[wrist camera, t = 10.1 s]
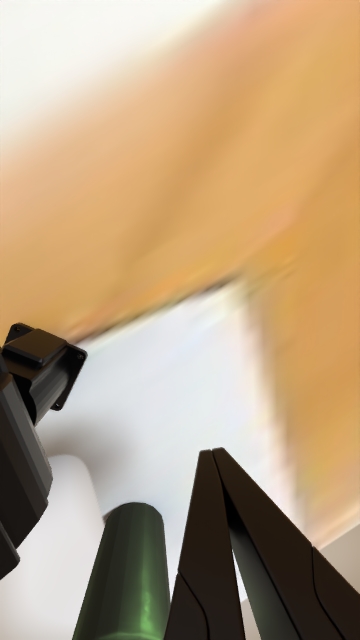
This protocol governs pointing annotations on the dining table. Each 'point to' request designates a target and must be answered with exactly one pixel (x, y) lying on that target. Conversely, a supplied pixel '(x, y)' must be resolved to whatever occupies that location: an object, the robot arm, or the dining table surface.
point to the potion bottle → (128, 579)
